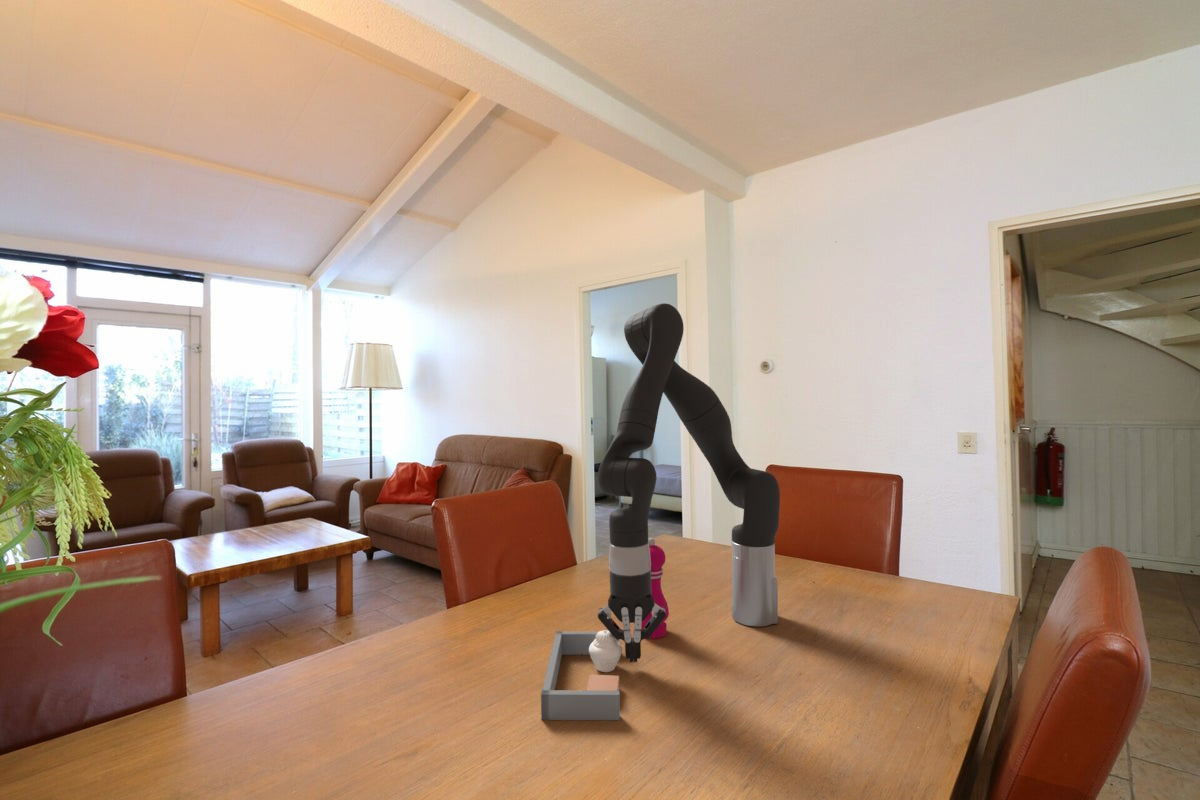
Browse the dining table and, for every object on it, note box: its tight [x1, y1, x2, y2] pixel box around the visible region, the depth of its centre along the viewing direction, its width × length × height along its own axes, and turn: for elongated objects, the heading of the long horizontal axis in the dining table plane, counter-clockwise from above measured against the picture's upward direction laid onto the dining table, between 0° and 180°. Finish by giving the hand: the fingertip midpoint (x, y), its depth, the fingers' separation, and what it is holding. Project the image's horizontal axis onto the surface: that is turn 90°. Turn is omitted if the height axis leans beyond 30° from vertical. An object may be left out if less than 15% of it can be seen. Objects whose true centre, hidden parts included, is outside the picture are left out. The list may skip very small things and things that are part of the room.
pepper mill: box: [641, 537, 670, 639], centre depth 117 cm, size 7×7×20 cm
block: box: [586, 674, 620, 692], centre depth 94 cm, size 5×5×2 cm
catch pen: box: [540, 630, 621, 721], centre depth 98 cm, size 12×22×4 cm, turn 178°
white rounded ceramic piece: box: [589, 629, 623, 673], centre depth 103 cm, size 6×6×7 cm
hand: (633, 660), depth 102 cm, fingers closed
